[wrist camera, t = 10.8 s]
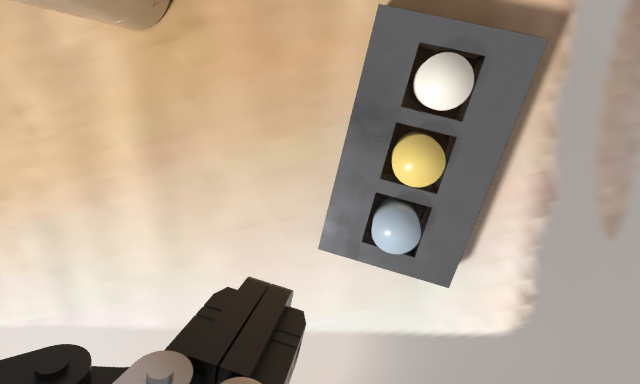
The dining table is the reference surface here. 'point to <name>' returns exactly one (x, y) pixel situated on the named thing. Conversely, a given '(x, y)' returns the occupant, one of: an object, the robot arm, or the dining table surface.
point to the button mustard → (417, 159)
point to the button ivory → (443, 81)
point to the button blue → (395, 226)
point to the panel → (466, 131)
